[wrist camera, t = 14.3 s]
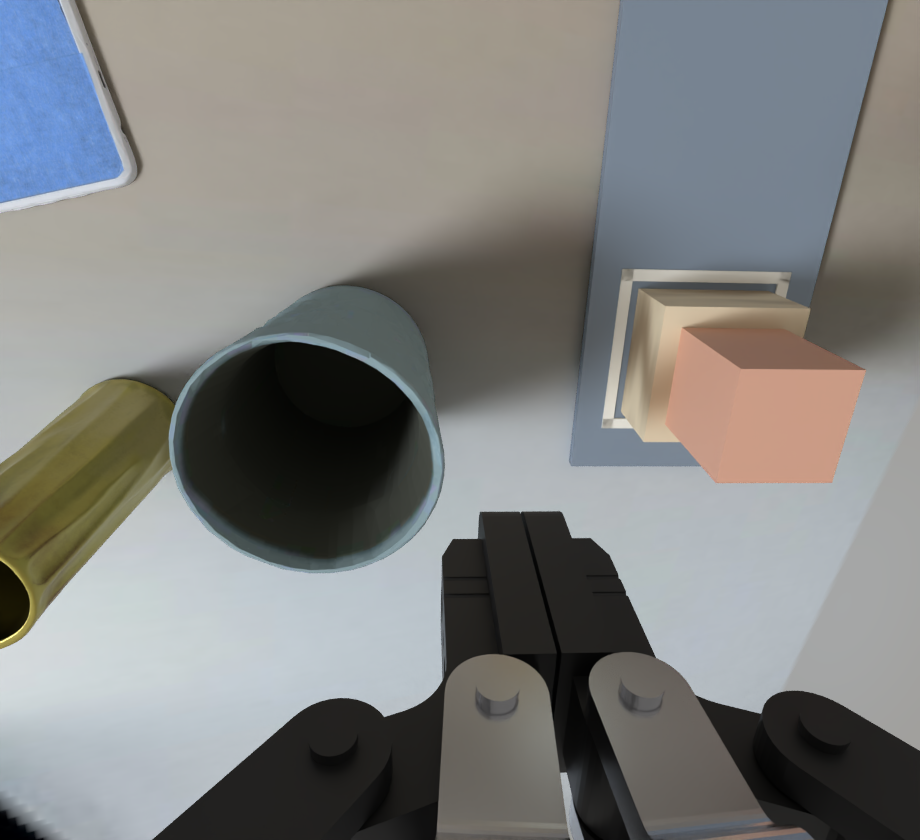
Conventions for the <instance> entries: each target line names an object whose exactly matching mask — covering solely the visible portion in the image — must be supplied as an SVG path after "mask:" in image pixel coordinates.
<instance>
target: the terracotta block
mask: <svg viewBox="0 0 920 840" xmlns="http://www.w3.org/2000/svg"><path fill="white" fill-rule="evenodd" d="M865 372H866V370H865V369H863V368H861V367H859V366H857V365H855V364H853V363H851V362H849V361H847V360H845V359H843V358H841V357H839V356H837V355H835V354H833V353H831V352H829V351H827V350H825V349H823V348H821V347H819V346H817V345H815V344H813V343H811V342H809V341H807V340H805V339H803V338H801V337H799V336H797V335H795V334H793V333H791V332H789V331H787V330H785V329H749V328H682V329H681V335H680V341H679V346H678V352H677V358H676V364H675V370H674V375H673V381H672V387H671V393H670V398H669V404H668V410H667V416H666V421H665V425H666V426H667V427H668V428H669V430H670V431H671V432H672V433H673V434H674V435H675V436H676V438H677V439H678V440H679V441H680V442H681V443H682V445H683V446H684V447H685V448H686V449H687V450H688V451H689V453H690V454H691V455H692V456H693V457H694V458H695V459H696V461H697V462H698V463H699V464H700V465H701V466H702V468H703V469H704V470H705V471H706V472H707V473H708V474H709V476H710V477H711V478H712V479H713V480H714V481H715V482H716V483H832V481H833V477H834V474H835V471H836V468H837V464H838V461H839V458H840V454H841V451H842V448H843V444H844V441H845V438H846V435H847V431H848V428H849V425H850V421H851V418H852V415H853V412H854V408H855V405H856V402H857V398H858V395H859V392H860V388H861V385H862V382H863V379H864V375H865Z"/></svg>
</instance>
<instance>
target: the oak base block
mask: <svg viewBox="0 0 920 840" xmlns="http://www.w3.org/2000/svg"><path fill="white" fill-rule="evenodd" d="M810 310H811V308H808V307H806V306H803V305H801V304H798V303H796V302H794V301H791V300H789V299H786V298H784V297H782V296H779V295H777V294H774V293H772V292H770V291H748V290H693V289H638V296H637V303H636V310H635V317H634V324H633V331H632V338H631V345H630V352H629V359H628V366H627V372H626V379H625V386H624V393H623V400H622V407H621V412H622V414H623V415H624V416H625V418H626V419H627V421H628V422H629V423H630V425H631V426H632V427H633V429H634V430H635V431H636V433H637V434H638V435H639V437H640V438H641V439H642V441H643V442H680V441H679V440H678V439H677V438H676V436H675V435H674V434H673V433H672V432H671V431H670V430H669V428H668V427H667V426H666V425H665V421H666V416H667V410H668V404H669V398H670V393H671V387H672V381H673V375H674V370H675V364H676V358H677V352H678V346H679V341H680V335H681V329H682V328H749V329H785V330H787V331H789V332H791V333H793V334H795V335H797V336H799V337H801V338H804V334H805V330H806V326H807V322H808V318H809V314H810Z"/></svg>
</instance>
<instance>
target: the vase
mask: <svg viewBox="0 0 920 840" xmlns="http://www.w3.org/2000/svg"><path fill="white" fill-rule="evenodd" d="M174 408H175V405H174V404H173V402H172V401H171V400H170V399H169V398H168V397H166V396H165V395H164V394H163V393H161V392H160V391H158V390H156V389H155V388H153V387H150V386H148V385H146V384H143V383H140V382H137V381H133V380H125V379H114V380H107V381H104V382H101V383H99V384H96V385H94V386H92V387H91V388H89V389H88V390H87V391H85V392H84V393H83V394H82V395H81V397H80V398H79V399H78V400H77V401H76V402H75V403H74V404H72V405H71V406H70V407H68V408H67V409H66V410H65V411H64V412H62V413H61V414H60V415H59V416H58V417H56V418H55V419H54V420H53V421H52V422H51V423H49V424H48V425H47V426H46V427H45V428H44V429H43V430H42V431H40V432H39V433H38V434H37V435H36V436H35V437H34V438H32V439H31V440H30V441H29V442H28V443H27V444H26V445H24V446H23V447H22V448H21V449H20V450H18V451H17V452H16V453H14V454H13V455H12V456H10V457H9V458H7V459H6V460H5V461H4V462H2V463H1V464H0V649H2V648H5V647H7V646H9V645H11V644H13V643H15V642H17V641H19V640H21V639H22V638H23V637H24V636H25V635H26V634H27V633H28V632H29V631H30V629H31V628H32V627H33V626H34V624H35V622H36V621H37V620H38V619H39V617H40V616H41V615H42V614H43V612H44V611H45V610H46V608H47V607H48V606H49V605H50V604H51V603H52V601H53V600H54V599H55V598H56V597H57V596H58V594H59V593H60V592H61V591H62V589H63V588H64V587H65V586H66V585H67V584H68V582H69V581H70V580H71V579H72V578H73V577H74V576H75V575H76V573H77V572H78V571H79V570H80V569H81V568H82V567H83V566H84V565H85V564H86V562H87V561H88V560H89V559H90V558H91V557H92V556H93V555H94V554H95V552H96V551H97V550H98V549H99V548H100V547H101V546H102V545H103V543H104V542H105V541H106V540H107V539H108V538H109V537H110V536H111V535H112V533H113V532H114V531H115V530H116V529H117V528H118V527H119V526H120V525H121V524H122V522H123V521H124V520H125V519H126V518H127V517H128V516H129V515H130V513H131V512H132V511H133V510H134V509H135V508H136V507H137V506H138V505H139V504H140V502H141V501H142V500H143V499H144V498H145V497H146V496H147V495H148V494H149V493H150V491H151V490H152V489H153V488H154V487H155V486H156V485H157V483H158V482H159V481H160V480H161V478H162V477H163V476H164V475H165V474H167V473H168V472H169V471H171V470H172V465H171V460H170V453H169V429H170V424H171V418H172V414H173V411H174Z"/></svg>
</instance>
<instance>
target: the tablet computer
mask: <svg viewBox="0 0 920 840" xmlns="http://www.w3.org/2000/svg"><path fill="white" fill-rule="evenodd" d="M136 176H137V164H136V161H135V157H134V155H133V152H132V150H131V147H130V145H129V142H128V140H127V137H126V135H125V134H124V133H123V131H122V128H121V121H120V118H119V115H118V113H117V110H116V108H115V105H114V102H113V100H112V97H111V94H110V92H109V89H108V87H107V85H106V82H105V79H104V77H103V74H102V71H101V69H100V66H99V63H98V61H97V58H96V55H95V52H94V50H93V47H92V45H91V42H90V39H89V37H88V34H87V31H86V29H85V26H84V23H83V21H82V18H81V15H80V13H79V10H78V8H77V5H76V2H75V0H0V213H3V212H8V211H13V210H22V209H27V208H30V207H34V206H37V205H46V204H50V203H54V202H57V201H60V200H64V199H68V198H77V197H81V196H86V195H88V194H91V193H96V192H100V191H105V190H109V189H114V188H119V187H124V186H126V185H129V184H130V183H132V182H133V181H134V180H135V178H136Z"/></svg>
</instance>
